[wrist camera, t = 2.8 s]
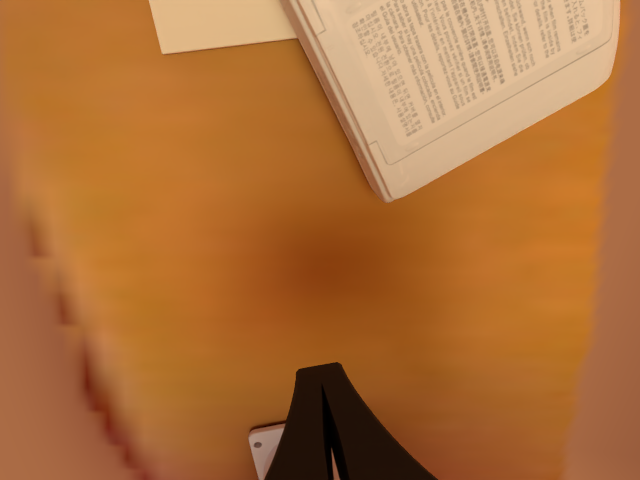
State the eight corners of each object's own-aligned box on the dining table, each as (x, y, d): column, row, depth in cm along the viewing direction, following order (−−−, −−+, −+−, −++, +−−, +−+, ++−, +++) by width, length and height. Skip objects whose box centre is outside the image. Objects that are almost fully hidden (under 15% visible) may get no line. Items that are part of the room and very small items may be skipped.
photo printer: (370, 192, 20) (582, 70, 20) (397, 219, 16) (664, 67, 16) (267, -9, 16) (530, -176, 15) (270, -38, 12) (623, -263, 11)
